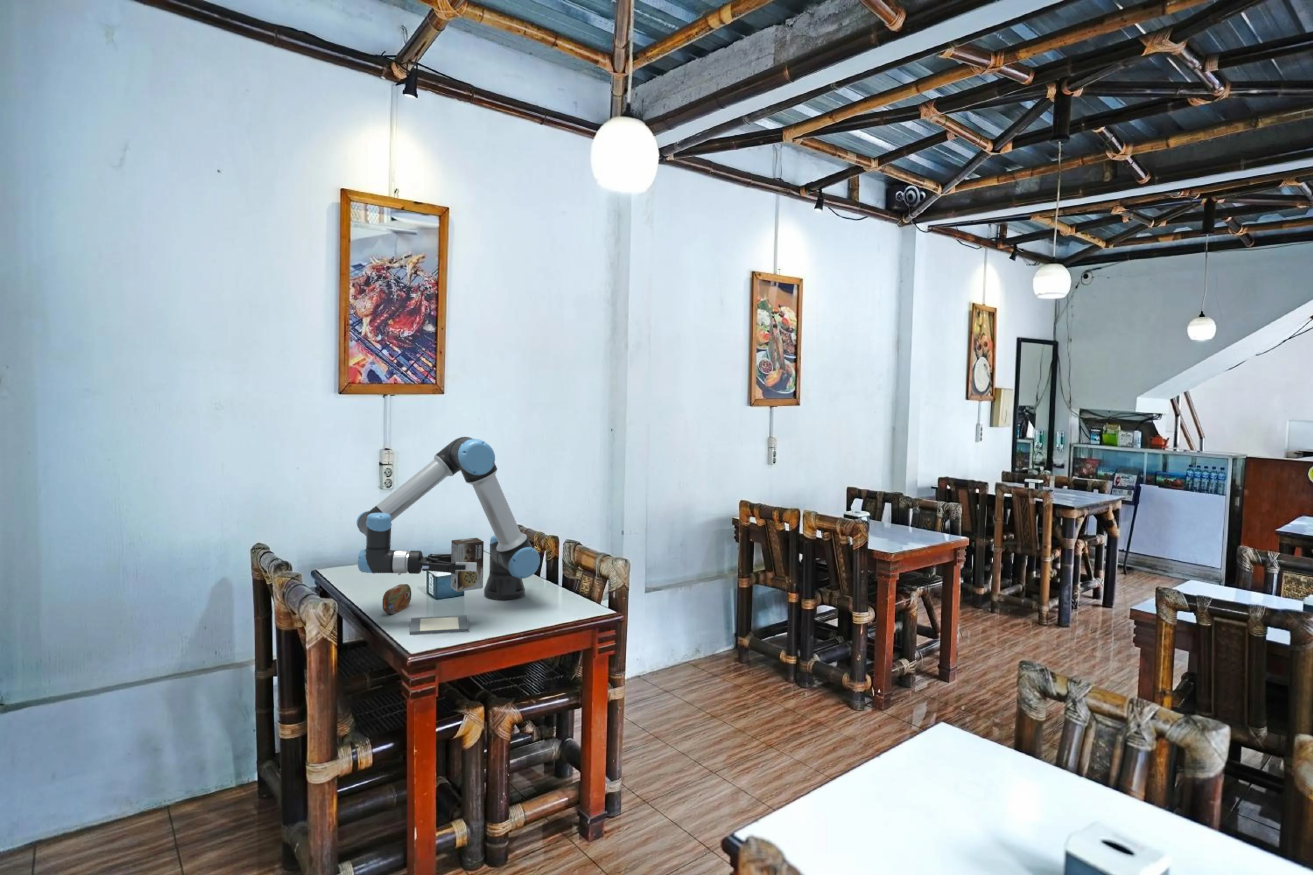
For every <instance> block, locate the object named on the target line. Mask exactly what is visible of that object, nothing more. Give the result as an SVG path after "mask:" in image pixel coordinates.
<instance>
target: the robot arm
mask: <svg viewBox="0 0 1313 875" xmlns="http://www.w3.org/2000/svg"><path fill="white" fill-rule="evenodd" d="M495 462H496V454H495V452H494V448H492V447H491V445H490V444H489V443H487V442H486V441H485V440H482V439H478V438H474V437H473V438H472V437H470V436H462V437H458V438H456V439H454V440H453V441H450V442H449V443H448V444H447V445H446V446H445V447H443V448H442V449H441V450H440V451H439V452H437V453H436V454H435V455H434V457H433V459H432V460H431V461H430V462H429V463H428V464H426V465H425V466H424V467H423V468H422V469H420V470H419V471H418V472H416V473H415V474H414V475H413V476H412V477H410V478H409V479H408V480H406V481H405V482H404V483H403V484H402V485H400V486H399V487H397V488H396V490H394V491H393V492H392V493H390V494H389V495H388V496H387V497H385V498H384V499H383V500H382V501H380V502H379V503H377V504H376V505H375V506H373V507H372V508H371V509H370V510H368V511H367V510H366V511H363V512H361V513H360V514H359V515H358V517H357V519H356V526H357V528H358V530H359V532H360V533H361V534H363V535H364V536H365V539H366V540H365V542H366V546H365V548H364V549H361V550H360V552H359V553H358V559H357V567H358V571H359V572H361V573H369V574H370V573H371V574H397V575H398V576H400V575H401V574H410V575H411V574H412V575H413V574H415V575H418V574H419V575H420V574H421V572H434V573H435V572H437V573H438V572H439V573H448V574H449V573H450V574H451V573H452V574H455V570H456V571H476V569H477V563H472V562H456V565H455V563H451V553H438V554H437V553H430V554H428V555H427V556H423V552H422V550H410V551H409V550H407V549H406V550H405V549H394V550H393V549H391V545H392V544H391V542H392V541H391V539H392V526H393V525H392V522H393V521H394V520H395V519H396V518H398V517H399V516H400V515H402V513H404V512H405V511H406V510H408V509H409V508H410V507H412V506H413V505H414V504H415V503H417V501H419V500H420V499H421V498H423V497H424V496H425V495H426V494H427V493H429V492H430V491H431V490H432V489H433V488H434V487H435V488H436V487H437V485H439V484H440V483H441V482H442V481H443V480H445V479H446V478H447V477H454V476H455V475H456V474H457V473H458V472H461V474H462V476H463V478H464V481H465V483H466V484H469V485H471V486H472V488H473V489H474V492H475V494H476V496H477V499H478V501H479V503H480V505H481V507H482V509H483V512H484V514H485V516H486V519H487V520H488V523H489V525H490V527H491V529H492V532H493V535H492V536H491V537H490V540H489V541H490V542H489V570H488V571H489V572H488V573H489V574H488V577H487V580H486V583H485V586H484V587H483V588H484V590H483V596H484V597H485V598H487V599H491V600H495V601H496V600H497V601H509V600H516V599H520V598H523V597H524V596H525V592H526V590H525V585H524V582H523V579H528V578H530V577H531V576H533V575H534V574H535V573H536V572H537V571H538V569H539V567H540V562H541V558H540V554H539V552H538V551H537V550H536V549H535V548H534V547H532V544H531V542H530V540H529V538H528V536H527V534H525V533H523V532H521V530H520V528H519V526H518V523H517V521H516V519H515V516H514V514H513V511H512V509H511V507H510V506H509V503H508V500H507V499H506V496H505V494H504V492H503V489H502V486H501V485H500V483H499V480H498V478H497V475H496V473H497V472H498V467H497V465H496V463H495Z"/></svg>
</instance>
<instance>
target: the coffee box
mask: <svg viewBox="0 0 1313 875" xmlns="http://www.w3.org/2000/svg"><path fill="white" fill-rule="evenodd" d="M484 544H485V542H484V540H482V539H480V538H478V537H471V538H461V539H453V540H452V539H451V553H450V554H451V563H455V565H456V562H472V563H477V569H476V571H456V570H455V574H452V573H450V589H453V590H454V591H455V592H457V593H458V592H459V593H461V592H466V591H467V592H468V591H473V590H474V591H475V590H481V589H483V588H484V548H485V547H484Z"/></svg>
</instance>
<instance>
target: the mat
mask: <svg viewBox="0 0 1313 875" xmlns="http://www.w3.org/2000/svg"><path fill="white" fill-rule="evenodd" d="M469 629H470V628H469V622H468V615H467V614H463V615H461V614H460V615H441V616H440V615H439V616H422V617H410V626H409V635H410V636H411V635H414V636H415V635H426V634H428V635H429V634H431V633H432V634H445V633H444V632H446V634H448V633H447V632H450V633H465V632H464V631H468V632H470V630H469ZM432 634H431V635H432Z"/></svg>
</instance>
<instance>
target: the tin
mask: <svg viewBox="0 0 1313 875" xmlns="http://www.w3.org/2000/svg"><path fill="white" fill-rule="evenodd" d="M411 601H412V589H411V586H410V585H409V584H408V583H405V584H403V583H400V584H397V585H396V586H393V587H391V588H389V589H387V590H386V591H385V593H384V594H383V597H382V610H383V613H386V614H387V615H395V614H398V613H399V612H401V611H403V610H405V609H406V608H407V607H409V605H410V603H411Z"/></svg>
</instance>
